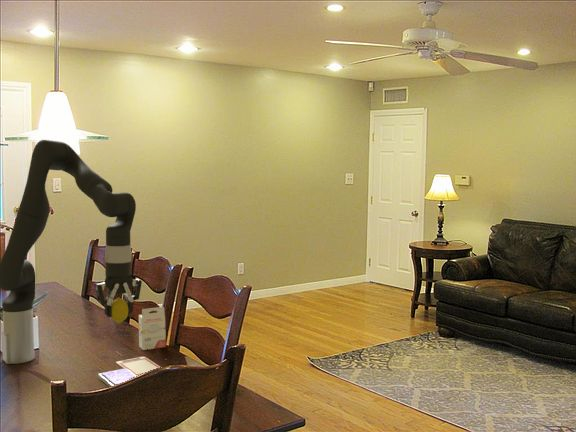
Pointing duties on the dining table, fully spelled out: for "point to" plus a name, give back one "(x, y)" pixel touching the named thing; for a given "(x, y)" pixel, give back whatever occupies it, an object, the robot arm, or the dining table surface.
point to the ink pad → (116, 376)
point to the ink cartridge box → (152, 329)
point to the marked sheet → (138, 365)
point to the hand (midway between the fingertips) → (118, 315)
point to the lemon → (119, 310)
